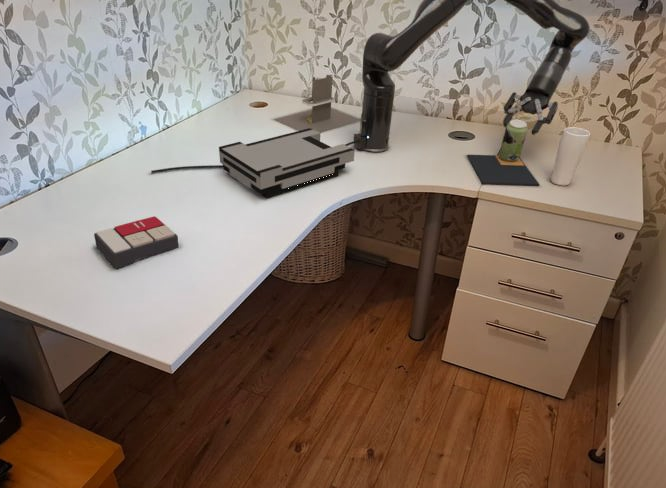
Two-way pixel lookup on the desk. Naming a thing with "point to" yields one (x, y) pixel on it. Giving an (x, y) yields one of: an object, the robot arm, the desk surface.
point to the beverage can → (513, 140)
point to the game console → (284, 162)
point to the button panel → (135, 241)
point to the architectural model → (319, 110)
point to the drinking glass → (569, 154)
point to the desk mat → (501, 171)
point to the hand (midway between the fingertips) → (518, 129)
